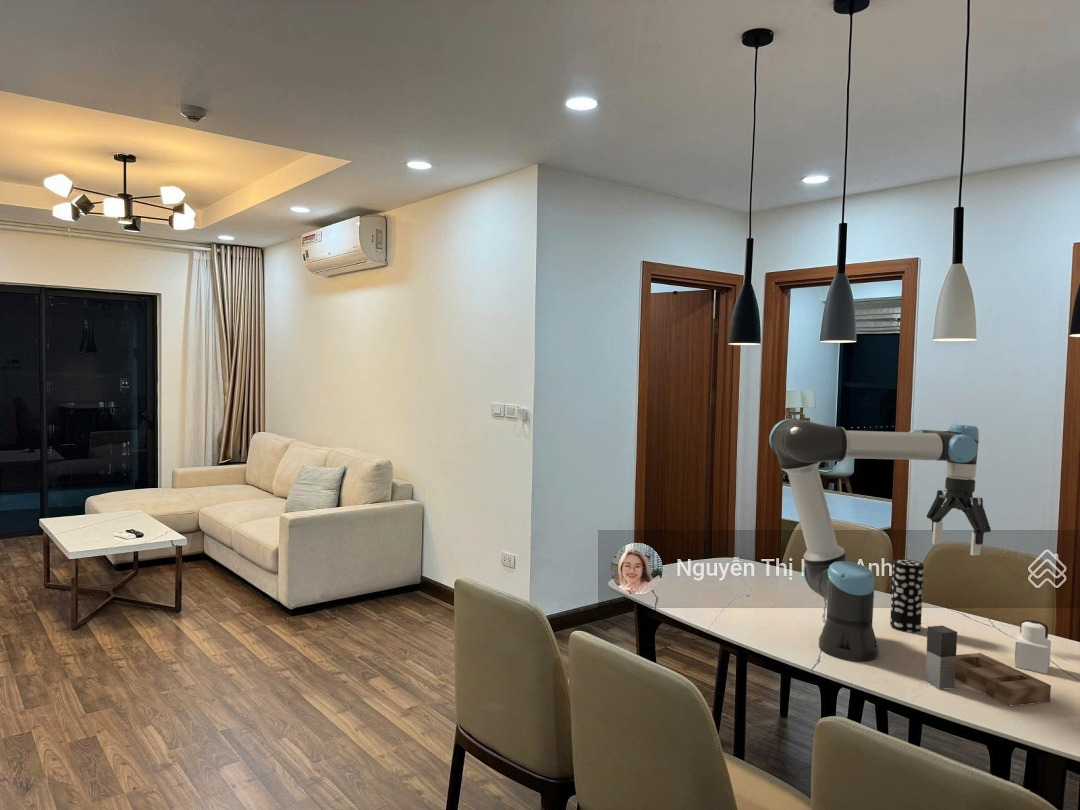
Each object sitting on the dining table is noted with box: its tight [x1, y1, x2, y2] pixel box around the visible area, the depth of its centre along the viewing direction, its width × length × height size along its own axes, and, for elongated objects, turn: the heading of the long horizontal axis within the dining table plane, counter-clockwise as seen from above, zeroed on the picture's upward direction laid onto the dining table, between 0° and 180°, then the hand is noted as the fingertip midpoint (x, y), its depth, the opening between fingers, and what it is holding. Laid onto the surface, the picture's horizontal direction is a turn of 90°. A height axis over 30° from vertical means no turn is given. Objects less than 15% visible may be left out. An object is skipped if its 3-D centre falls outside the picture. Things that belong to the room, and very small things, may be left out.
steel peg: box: [924, 625, 958, 690], centre depth 177 cm, size 4×4×14 cm
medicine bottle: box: [1014, 619, 1052, 675], centre depth 191 cm, size 7×7×12 cm
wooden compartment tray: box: [955, 652, 1052, 707], centre depth 178 cm, size 12×20×4 cm, turn 14°
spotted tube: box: [889, 558, 925, 633], centre depth 218 cm, size 8×8×20 cm
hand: (955, 549), depth 211 cm, fingers open, 13 cm apart
